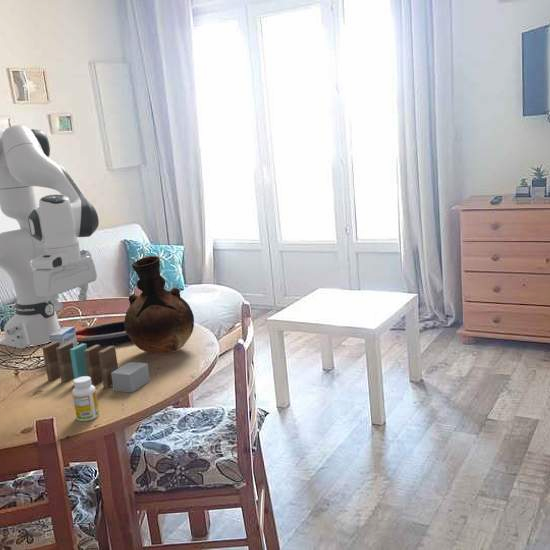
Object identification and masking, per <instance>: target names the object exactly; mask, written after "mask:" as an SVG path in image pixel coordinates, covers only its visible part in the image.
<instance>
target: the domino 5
mask: <svg viewBox="0 0 550 550" xmlns="http://www.w3.org/2000/svg"><path fill="white" fill-rule="evenodd" d="M98 353H99V360H100V366H101V373H102V379H103V381H102V385H103V388H110V387H111V386H113V383H112V376H111V373H112V372H113V371H115V370H117V369H119V365H118V358H117V357H118V356H117V352H116V346H114V345H108V347H105V348H103V349H101V351H99V352H98Z"/></svg>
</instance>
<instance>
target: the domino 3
mask: <svg viewBox="0 0 550 550" xmlns="http://www.w3.org/2000/svg"><path fill="white" fill-rule="evenodd" d="M86 349H88V347H87V344H80V345H78V346H76V347H74V348H72V349H70V355H71V361H72V367H73V373H74V378H73V380H75V379H76V378H79V377H83V376H88V374H87V368H86V362H85V355H84V350H86Z"/></svg>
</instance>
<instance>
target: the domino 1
mask: <svg viewBox="0 0 550 550" xmlns="http://www.w3.org/2000/svg"><path fill="white" fill-rule="evenodd" d="M58 347H60V343H59V342H56V341H55V342H53V343H49V344H45V345H43V346H42V349H41V350H42V353H43V359H44V365H45V371H46V376H47V381H48V380H49V381H51V382H53V381H55V380H58V379H59V378H61V377H60V370H59V364H58V358H57V352H56V348H58ZM58 377H59V378H58Z"/></svg>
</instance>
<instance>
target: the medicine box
mask: <svg viewBox="0 0 550 550" xmlns="http://www.w3.org/2000/svg"><path fill="white" fill-rule="evenodd" d="M60 328H61V329H59V330H58V331H56V332H54V333H53V334H51V335H50V342H51V343H53V342H55V341H56V342H59V343H60V346H62V345H64V344H66V343H68V342H69V343H73V347H76V346H77V340H76V334H75V330H76V328H75V327H74V326H64V327H60Z"/></svg>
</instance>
